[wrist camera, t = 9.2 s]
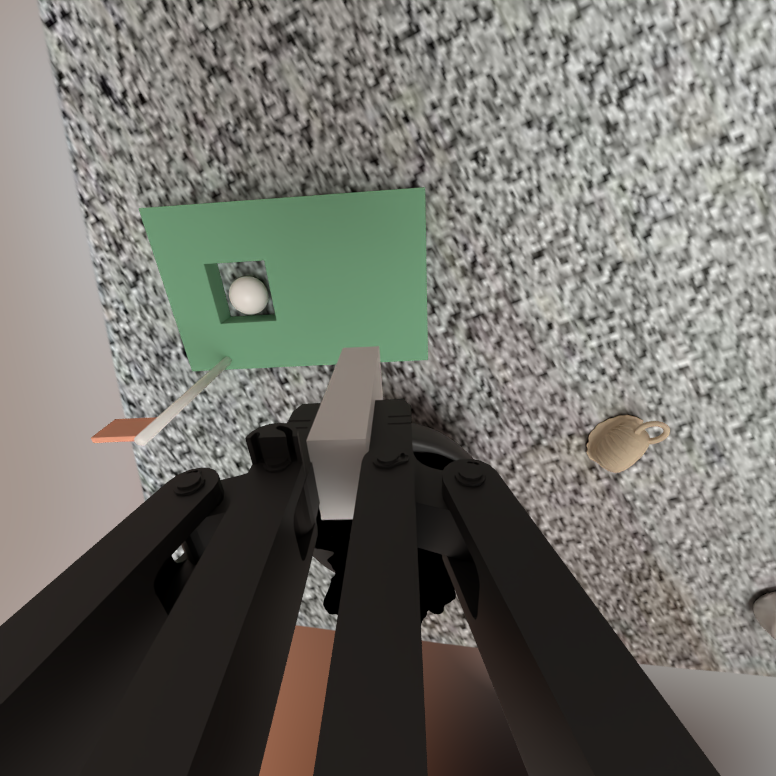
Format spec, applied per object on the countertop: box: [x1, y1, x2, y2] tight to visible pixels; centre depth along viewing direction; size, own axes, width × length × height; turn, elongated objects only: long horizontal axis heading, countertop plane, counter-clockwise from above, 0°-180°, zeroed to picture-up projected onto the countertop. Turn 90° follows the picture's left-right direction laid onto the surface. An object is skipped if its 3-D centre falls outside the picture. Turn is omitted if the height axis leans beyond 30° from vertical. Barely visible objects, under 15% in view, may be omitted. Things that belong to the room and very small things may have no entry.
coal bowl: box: [313, 423, 473, 623], centre depth 37 cm, size 20×20×19 cm
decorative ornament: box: [586, 415, 670, 473], centre depth 40 cm, size 4×8×5 cm, turn 148°
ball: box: [229, 276, 269, 314], centre depth 35 cm, size 4×4×4 cm
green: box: [91, 187, 428, 446], centre depth 29 cm, size 15×24×16 cm, turn 94°
